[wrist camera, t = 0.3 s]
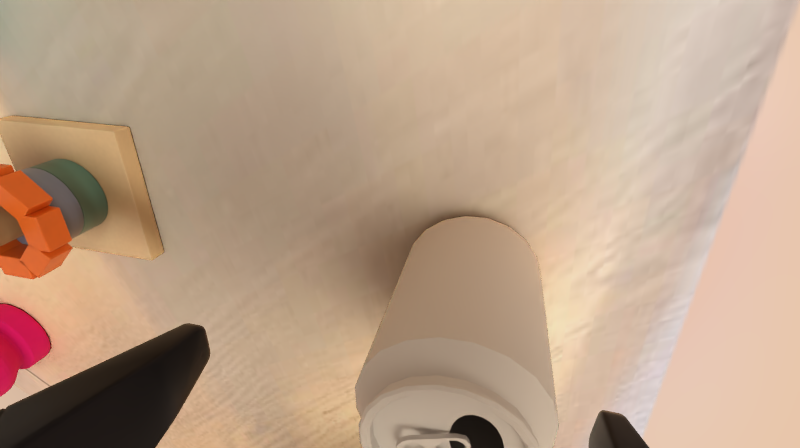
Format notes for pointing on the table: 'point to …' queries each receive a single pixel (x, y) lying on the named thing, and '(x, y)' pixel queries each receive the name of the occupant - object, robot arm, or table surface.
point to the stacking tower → (84, 183)
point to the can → (462, 347)
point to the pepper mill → (19, 344)
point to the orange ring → (31, 227)
